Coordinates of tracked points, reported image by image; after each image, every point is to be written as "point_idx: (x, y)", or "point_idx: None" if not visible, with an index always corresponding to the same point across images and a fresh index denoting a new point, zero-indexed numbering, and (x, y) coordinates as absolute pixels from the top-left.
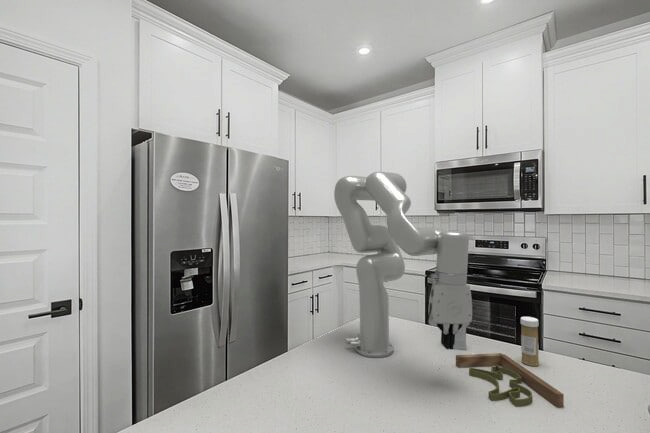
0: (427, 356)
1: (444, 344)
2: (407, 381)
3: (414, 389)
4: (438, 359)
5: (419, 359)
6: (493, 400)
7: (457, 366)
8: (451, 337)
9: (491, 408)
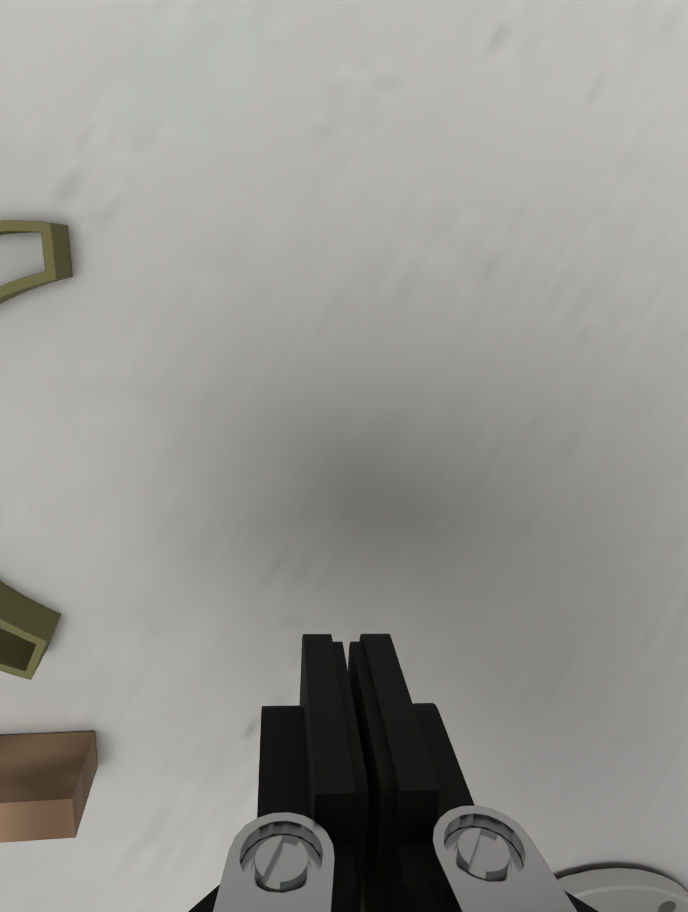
0: None
1: (414, 704)
2: (570, 568)
3: (577, 463)
4: (193, 847)
5: None
6: (52, 223)
7: (94, 745)
8: (351, 758)
9: (130, 119)
